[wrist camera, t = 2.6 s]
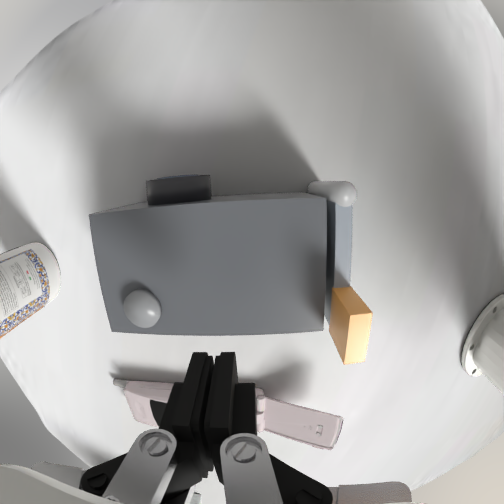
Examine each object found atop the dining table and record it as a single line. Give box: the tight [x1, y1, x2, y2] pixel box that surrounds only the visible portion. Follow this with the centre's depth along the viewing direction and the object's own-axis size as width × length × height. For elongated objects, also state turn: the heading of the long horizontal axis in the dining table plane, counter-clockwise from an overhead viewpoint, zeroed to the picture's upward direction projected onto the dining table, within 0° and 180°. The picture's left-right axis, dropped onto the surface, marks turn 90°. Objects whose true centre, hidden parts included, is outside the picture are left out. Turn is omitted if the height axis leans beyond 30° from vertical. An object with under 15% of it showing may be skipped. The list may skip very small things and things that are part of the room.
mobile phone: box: [113, 379, 343, 450], centre depth 25 cm, size 6×6×25 cm
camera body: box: [89, 175, 327, 336], centre depth 19 cm, size 14×10×9 cm
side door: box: [308, 181, 373, 365], centre depth 18 cm, size 1×9×11 cm, turn 3°
